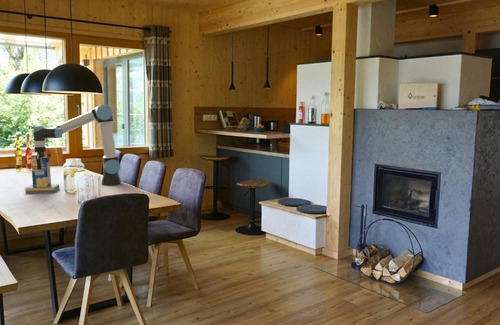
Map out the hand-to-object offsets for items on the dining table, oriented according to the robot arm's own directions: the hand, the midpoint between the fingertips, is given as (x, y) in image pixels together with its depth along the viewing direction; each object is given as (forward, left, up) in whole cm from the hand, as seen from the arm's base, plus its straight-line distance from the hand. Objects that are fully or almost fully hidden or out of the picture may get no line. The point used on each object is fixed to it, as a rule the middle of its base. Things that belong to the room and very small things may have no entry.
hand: (41, 177), depth 332 cm
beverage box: (0, 0, -7) cm, 7 cm away
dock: (0, 0, -10) cm, 10 cm away
